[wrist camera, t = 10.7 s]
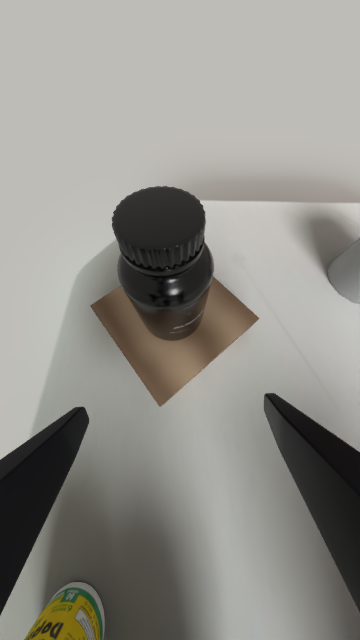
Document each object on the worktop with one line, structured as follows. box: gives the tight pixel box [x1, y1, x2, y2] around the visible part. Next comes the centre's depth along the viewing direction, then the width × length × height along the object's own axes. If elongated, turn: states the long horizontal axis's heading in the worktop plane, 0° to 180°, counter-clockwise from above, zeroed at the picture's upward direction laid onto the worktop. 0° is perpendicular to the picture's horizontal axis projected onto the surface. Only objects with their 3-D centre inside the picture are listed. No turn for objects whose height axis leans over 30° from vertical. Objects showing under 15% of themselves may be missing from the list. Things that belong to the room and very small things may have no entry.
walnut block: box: [91, 277, 259, 406], centre depth 21 cm, size 14×14×3 cm
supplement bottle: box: [112, 186, 214, 341], centre depth 14 cm, size 7×7×12 cm
